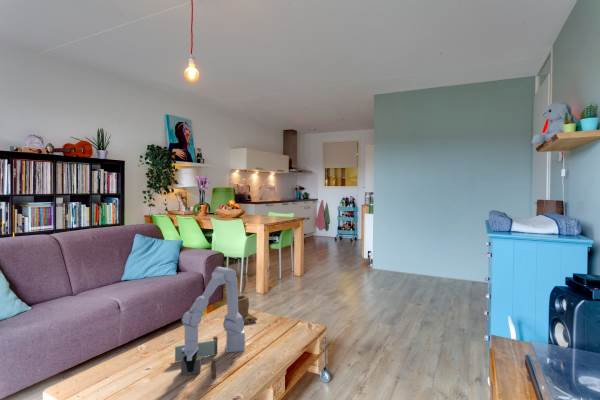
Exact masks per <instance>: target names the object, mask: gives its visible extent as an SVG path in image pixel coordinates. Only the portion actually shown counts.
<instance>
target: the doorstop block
mask: <svg viewBox="0 0 600 400" xmlns="http://www.w3.org/2000/svg"><path fill="white" fill-rule="evenodd" d="M180 364H181V365H180V370H181V371H180V375H181V376H185V375H186V376H187V375H197V374H200V373H201V371H202V368H201V366H202V357H201V355H200V356H197V359H196V361H195V364H194V369H193V372H188V370H187V365H186V363H185V361H184V357H182V361H180Z"/></svg>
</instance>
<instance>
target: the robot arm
mask: <svg viewBox="0 0 600 400" xmlns="http://www.w3.org/2000/svg"><path fill="white" fill-rule="evenodd" d="M221 285H226V299H227V300H226V307H227V314H225V315H224V316H223V317H224V318H223V324H222V326H223V328H224V329H225V333H226V340H225V342H226V344H225V353H235V352H245V349H246V348H245V347H246V337H245V336H246V335H245V334H246V332H245V330H244V329H245V323H244V322H243V317H242V316H241V315H240V314H239V312H238V296H239V290H238V289H239V288H238V278H237V271H236V270H235V269H233V268H229V267H228V268H227V267H222V266H220V265H219V266H216V267H215V268H214V270H213V271H212V273H211V279H210V280H209V283H208V284H207V285H206V287H205V290H204V292H203V293H202V295H199V296H197V298H196V299H195V301H194V302H193V304H192V305H191V307H190V309H188V310H187V311H185V312H184V313H183V315H182V318H181V323H182V324H183V328H184V345H185V348H182V352H185V354H186V356H184V361H185V363H186V365H187V370H188V372H193V369H194V364H195V361H196V359H197V356H196V355H197V352H198V342H199V324H200V323H201V321H202V316H203V313H204V311H205V310H206V309H207V306H208V305H209V299H210V297H212V295H213V294H214V292H215V291H216V289H217V288H218V287H219V286H221Z"/></svg>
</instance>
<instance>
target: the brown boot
mask: <svg viewBox="0 0 600 400" xmlns="http://www.w3.org/2000/svg"><path fill="white" fill-rule="evenodd" d="M249 308H250V300H249V297H248V296H247V295H238V312H239V314H240V315H241V316H242V317H243V322H244V324H252V323H254V322H256V321H257V320H258V317H256V316H254V315H253V314H251V313H249Z"/></svg>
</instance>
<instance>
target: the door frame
mask: <svg viewBox="0 0 600 400" xmlns="http://www.w3.org/2000/svg"><path fill="white" fill-rule="evenodd" d="M218 337H219V336H213V339H212V340H217V343H216V355H218V339H219V338H218ZM216 379H217V358H216V357H215V358H211V360H210V380H216Z"/></svg>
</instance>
